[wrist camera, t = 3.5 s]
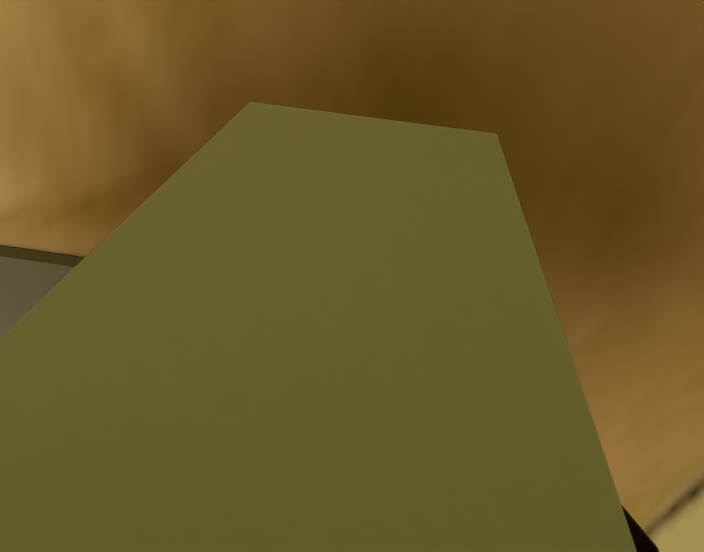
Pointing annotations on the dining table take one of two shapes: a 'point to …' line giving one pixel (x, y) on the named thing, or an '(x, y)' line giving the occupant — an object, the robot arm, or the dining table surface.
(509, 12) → the dining table surface
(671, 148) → the dining table surface
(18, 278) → the mat
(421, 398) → the pale green block
